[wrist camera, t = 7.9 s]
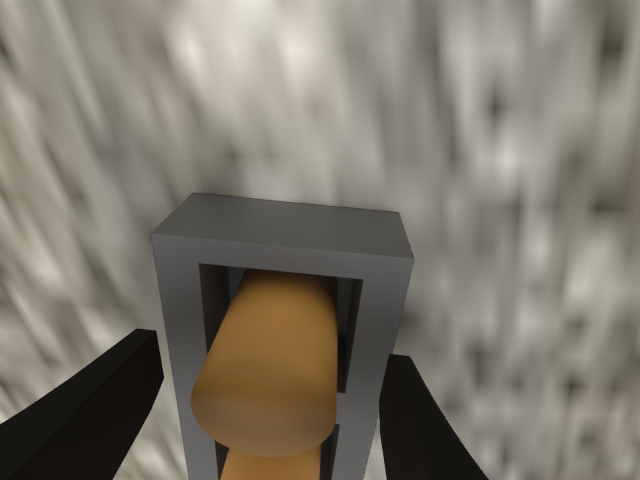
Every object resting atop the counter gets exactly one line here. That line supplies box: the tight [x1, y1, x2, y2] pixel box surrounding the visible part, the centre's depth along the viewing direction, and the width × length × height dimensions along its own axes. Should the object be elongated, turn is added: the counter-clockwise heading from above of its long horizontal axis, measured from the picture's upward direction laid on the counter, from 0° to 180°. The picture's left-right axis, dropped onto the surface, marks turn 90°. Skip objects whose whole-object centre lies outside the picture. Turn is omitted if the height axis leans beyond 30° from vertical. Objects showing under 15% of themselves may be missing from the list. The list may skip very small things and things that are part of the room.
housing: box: [151, 193, 414, 480], centre depth 14 cm, size 8×14×6 cm, turn 176°
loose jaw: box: [190, 268, 338, 458], centre depth 13 cm, size 4×4×6 cm
